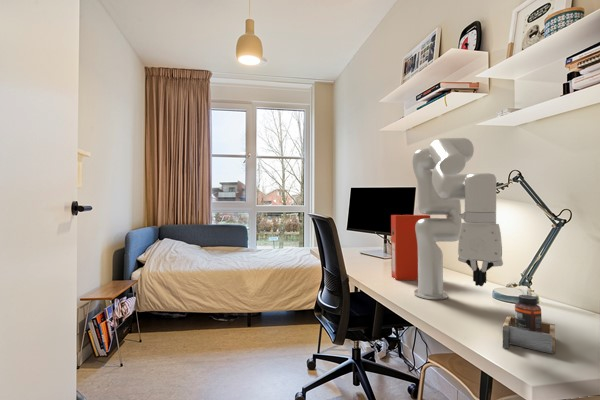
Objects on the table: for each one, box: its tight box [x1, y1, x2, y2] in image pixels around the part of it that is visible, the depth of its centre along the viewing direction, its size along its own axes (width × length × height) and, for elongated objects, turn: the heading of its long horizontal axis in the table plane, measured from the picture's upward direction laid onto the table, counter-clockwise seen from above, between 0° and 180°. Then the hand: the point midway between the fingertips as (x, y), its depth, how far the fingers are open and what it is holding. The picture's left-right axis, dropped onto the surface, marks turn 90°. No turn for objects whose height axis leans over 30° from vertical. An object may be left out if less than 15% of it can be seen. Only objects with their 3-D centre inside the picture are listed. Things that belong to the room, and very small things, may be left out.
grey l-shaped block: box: [502, 325, 553, 355], centre depth 79 cm, size 4×10×4 cm, turn 51°
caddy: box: [502, 315, 556, 354], centre depth 86 cm, size 11×11×4 cm
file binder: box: [390, 214, 431, 281], centre depth 158 cm, size 8×17×32 cm, turn 90°
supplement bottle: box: [514, 294, 543, 332], centre depth 86 cm, size 6×6×11 cm
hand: (479, 284), depth 86 cm, fingers closed
